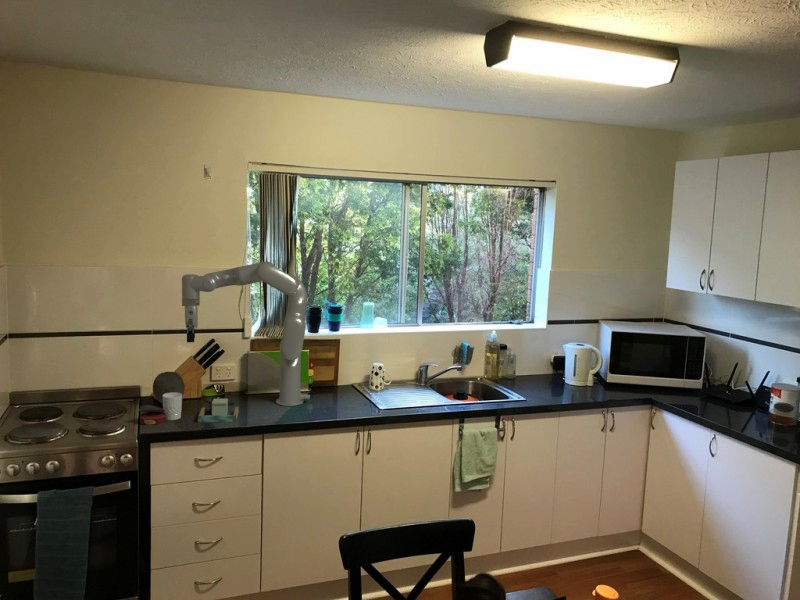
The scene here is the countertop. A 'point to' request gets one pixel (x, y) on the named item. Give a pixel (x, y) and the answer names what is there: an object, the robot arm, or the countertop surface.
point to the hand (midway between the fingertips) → (190, 340)
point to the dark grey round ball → (167, 384)
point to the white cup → (172, 405)
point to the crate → (220, 407)
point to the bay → (217, 417)
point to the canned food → (152, 415)
